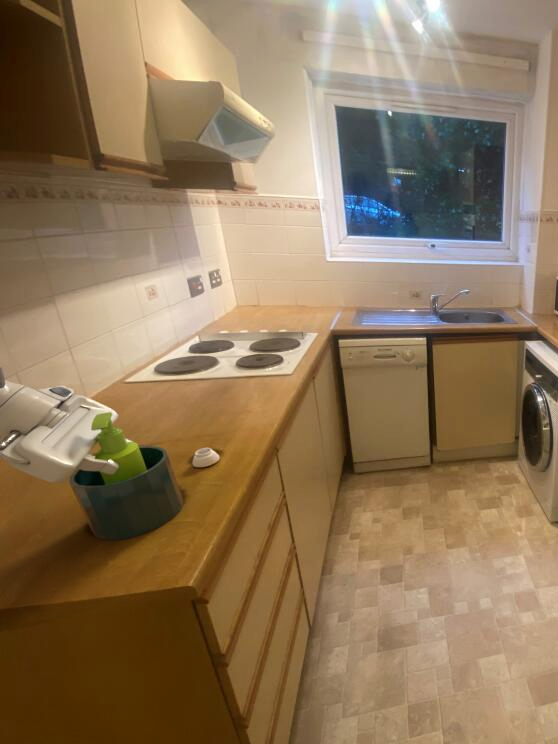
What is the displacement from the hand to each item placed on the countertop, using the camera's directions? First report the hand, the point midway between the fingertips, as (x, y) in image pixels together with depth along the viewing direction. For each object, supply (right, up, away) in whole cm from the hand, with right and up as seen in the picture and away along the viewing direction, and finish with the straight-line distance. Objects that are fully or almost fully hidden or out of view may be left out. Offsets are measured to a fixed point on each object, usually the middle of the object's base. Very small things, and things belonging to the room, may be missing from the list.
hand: (124, 458), depth 77 cm
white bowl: (0, -5, +21) cm, 21 cm away
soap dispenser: (-1, -11, +4) cm, 12 cm away
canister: (-1, -11, +4) cm, 12 cm away
